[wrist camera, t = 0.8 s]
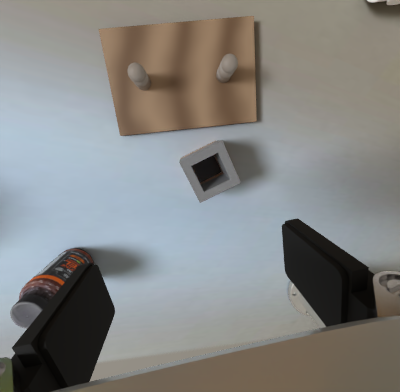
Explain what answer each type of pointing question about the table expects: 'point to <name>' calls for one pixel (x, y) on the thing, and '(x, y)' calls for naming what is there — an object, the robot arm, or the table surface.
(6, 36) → the table surface
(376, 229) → the table surface
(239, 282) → the table surface
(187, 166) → the sleeve
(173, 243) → the table surface
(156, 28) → the pin board
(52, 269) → the supplement bottle
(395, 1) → the mug
